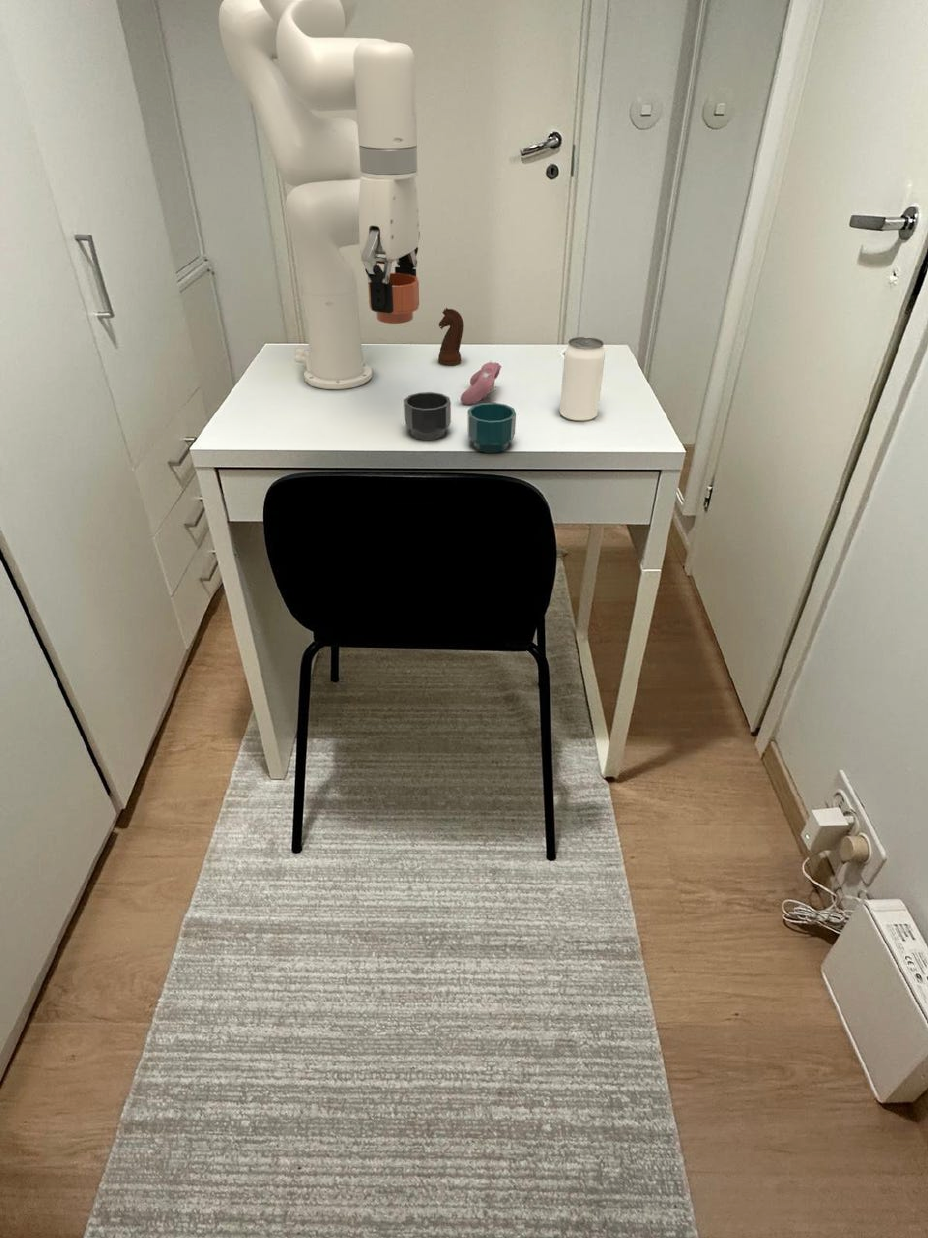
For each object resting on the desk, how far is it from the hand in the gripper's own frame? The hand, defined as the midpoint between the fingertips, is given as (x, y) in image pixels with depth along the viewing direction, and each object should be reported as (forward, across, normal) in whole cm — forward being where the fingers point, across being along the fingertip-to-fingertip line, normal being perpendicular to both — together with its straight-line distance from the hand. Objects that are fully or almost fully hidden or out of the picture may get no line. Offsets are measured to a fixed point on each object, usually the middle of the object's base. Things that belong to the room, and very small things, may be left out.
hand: (394, 302), depth 106 cm
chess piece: (+20, -32, -4) cm, 38 cm away
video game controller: (+20, -17, +8) cm, 27 cm away
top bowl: (+19, +1, +16) cm, 25 cm away
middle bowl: (+2, 0, 0) cm, 2 cm away
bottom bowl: (+19, 0, +5) cm, 20 cm away
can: (+19, -16, +26) cm, 36 cm away
